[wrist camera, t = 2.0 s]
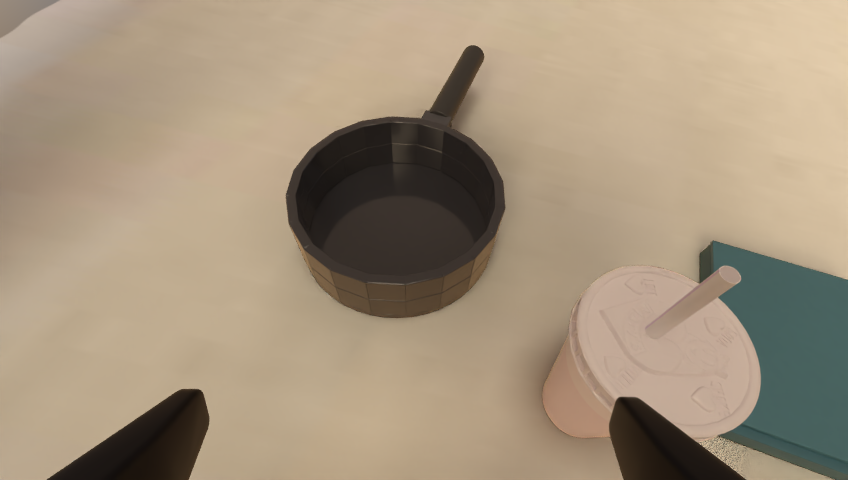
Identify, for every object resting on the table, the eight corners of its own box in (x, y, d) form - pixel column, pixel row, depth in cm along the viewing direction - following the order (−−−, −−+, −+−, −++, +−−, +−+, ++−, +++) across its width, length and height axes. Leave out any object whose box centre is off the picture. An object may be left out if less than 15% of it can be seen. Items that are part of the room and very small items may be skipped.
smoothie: (539, 326, 25) (652, 164, 13) (645, 377, 23) (879, 244, 12) (500, 427, 22) (604, 329, 10) (620, 493, 20) (908, 469, 8)
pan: (458, 349, 24) (466, 319, 20) (265, 276, 26) (240, 237, 23) (512, 191, 31) (526, 146, 27) (355, 144, 33) (348, 98, 30)
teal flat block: (890, 500, 20) (921, 499, 19) (699, 429, 22) (716, 424, 21) (844, 295, 27) (865, 284, 25) (699, 252, 28) (712, 240, 27)
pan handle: (443, 148, 29) (445, 127, 28) (417, 140, 30) (417, 120, 28) (483, 68, 35) (487, 48, 33) (461, 63, 35) (463, 42, 34)
